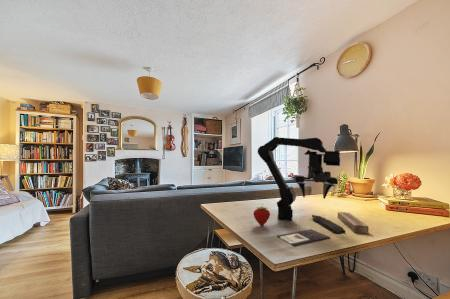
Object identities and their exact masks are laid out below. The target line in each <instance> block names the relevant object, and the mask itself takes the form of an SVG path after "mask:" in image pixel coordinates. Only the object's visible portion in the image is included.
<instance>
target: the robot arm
mask: <svg viewBox="0 0 450 299" xmlns="http://www.w3.org/2000/svg"><path fill="white" fill-rule="evenodd" d="M280 145H281V146H287V147H288V146H290V147H292V146H293V147H299V148H300V147H301V148H306V149H308V150H307V151H306V152H304V153H303V154H304V155H307V156H308V166H307V170H308V172H307V176H304V175H302V174H301V175H298V174H293V177H292V181H293V182H295V183H296V184H297V185H298V186H299V188H300V192H301V194H302V197H303V198H305V197H306V196H305V195H306V190H305V188H306V187H305V186H306V183H305V182H314V183H323V184H322V189H323V190H322V197H323V198H322V199H323V200H325V199H326V198H327V196H328V192H329V191H330V189H331V188H332V187H335V185H338V184H339V180H338V178H337V177H333V176H331V175H332V174H331V171H324V167H322V166H323V164H325V166H329V167H330V166H331V167H332V166H333V167H340V166H341V157H340V155H341V153H340V150H333V151H332V150H327V149H326V148H325V147H324V142H323V141H322V140H321V139H320V138H318V137H310V138H309V137H308V138H289V137H278V136H274V137H273V138H272V139H271V140H270V141H268V142H266V143H265V144H264V145H261V146H259V147H258V149H257V154H258V156H259V157H260V159H261V160H262V161H263V162H264V163H265V164H266V165H267V167H268V170H269V172H270V173H271V176H272V177H273V179H274V182H275V184H276V185H277V187H278V191H279V196H280V199H279V200H278V201H277V202H276V206H277V220H280V221H293V216H294V212H293V209H292V204H293V203H294V202H295V201H296V199H297V193H296V192H295V189H294V187H293V186H289V185H288V184H287V182H286V181H285V179H284V177H283V174H282V172H281V171H280V169H279V167H278V165H277V163H276V161H275V158H274V152H273V151H275V150H276V149H277V148H278V147H279V146H280ZM311 150H313V151H311ZM318 152H320V153H318Z"/></svg>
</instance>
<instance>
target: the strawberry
mask: <svg viewBox="0 0 450 299" xmlns="http://www.w3.org/2000/svg"><path fill="white" fill-rule="evenodd" d="M261 205H262V206H260V207H256V208H255V210H253V218H254V219H255V221H256V223H257V224H258V225H259V226H260V227H264V225H265V224H266V223H267V222H268V221H269V219H270V215H271V213H270V211H269V210H268V207H264V205H263V203H261Z"/></svg>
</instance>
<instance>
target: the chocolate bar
mask: <svg viewBox="0 0 450 299" xmlns="http://www.w3.org/2000/svg"><path fill="white" fill-rule="evenodd" d="M276 237H277V238H278V237H279V239H280V240H282V241H283V242H286V243H287V244H289V245H291V246H292V247H297V246H301V245H306V244H312V243H314V242H315V243H316V242H321V241H324V240H329V239H331V238H330V236H328V235H326V234H324V233H321V232H318V231H317V230H314V229H313V228H312V229H311V228H310V229H305V230H300V231H294V232H290V233H289V232H287V233H283V234H279V235H277V234H276Z"/></svg>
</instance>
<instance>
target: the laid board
mask: <svg viewBox="0 0 450 299" xmlns="http://www.w3.org/2000/svg"><path fill="white" fill-rule="evenodd" d="M337 218H338V220H340V222H341V223H342V224H344V225H345V226H346V227H347V228H348V229H349V230H351V231H352V232H353V233H359V234H369V225H368V224H366V223H365V222H364V221H362V220H360V219H359V218H358V217H356V216H355V215H353V214H352V213H350V212H345V211H344V212H342V211H341V212H340V211H338V212H337Z"/></svg>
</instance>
